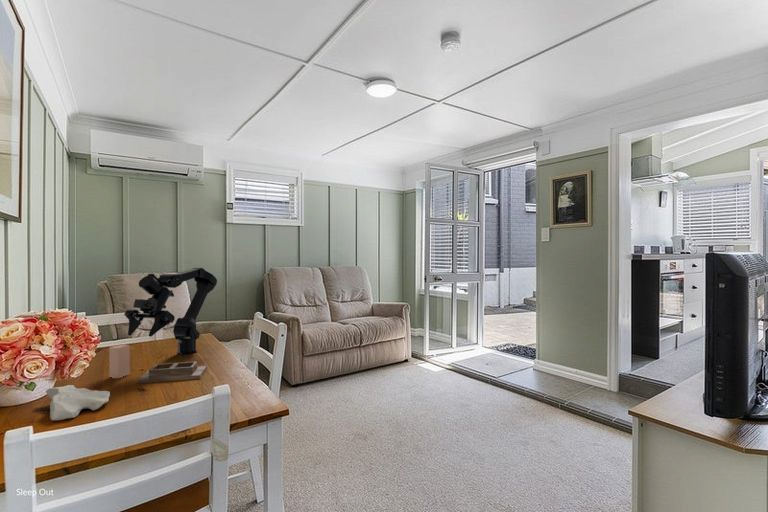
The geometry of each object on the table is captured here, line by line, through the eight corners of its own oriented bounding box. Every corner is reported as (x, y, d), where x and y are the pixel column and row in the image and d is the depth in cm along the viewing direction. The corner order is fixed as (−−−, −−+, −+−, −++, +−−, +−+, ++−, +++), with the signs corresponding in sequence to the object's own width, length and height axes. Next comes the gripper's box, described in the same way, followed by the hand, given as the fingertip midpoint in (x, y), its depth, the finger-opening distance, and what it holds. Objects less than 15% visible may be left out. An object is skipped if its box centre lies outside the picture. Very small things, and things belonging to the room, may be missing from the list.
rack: (149, 372, 140) (149, 363, 140) (206, 368, 145) (206, 359, 145) (136, 383, 129) (136, 372, 129) (200, 378, 134) (200, 368, 134)
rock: (106, 391, 122) (45, 398, 113) (108, 377, 122) (47, 383, 113) (111, 418, 106) (40, 429, 96) (113, 402, 106) (42, 411, 96)
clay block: (120, 373, 139) (120, 344, 139) (129, 374, 138) (129, 345, 138) (109, 377, 135) (109, 347, 135) (118, 378, 134) (118, 348, 134)
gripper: (125, 289, 148) (103, 325, 139) (166, 290, 145) (146, 327, 135) (143, 303, 157) (123, 338, 147) (182, 304, 153) (165, 340, 144)
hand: (139, 335), depth 143 cm, fingers open, 9 cm apart
